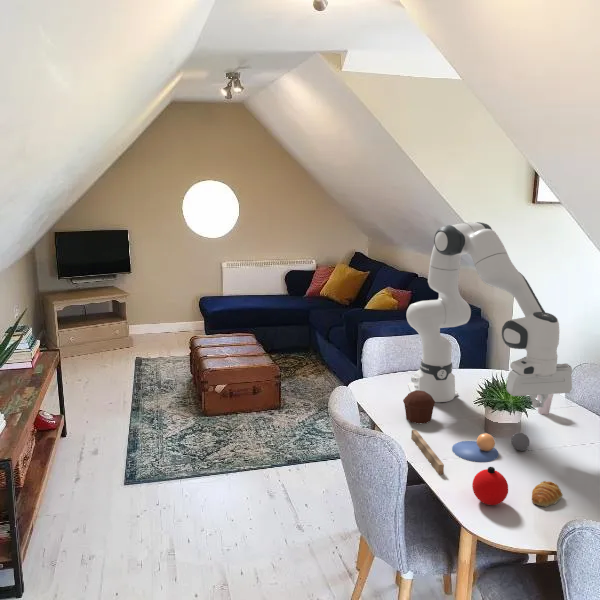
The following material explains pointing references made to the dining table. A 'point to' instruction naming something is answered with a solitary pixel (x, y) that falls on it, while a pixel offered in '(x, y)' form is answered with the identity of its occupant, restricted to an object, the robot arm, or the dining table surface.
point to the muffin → (419, 407)
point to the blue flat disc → (474, 452)
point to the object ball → (485, 442)
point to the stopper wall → (427, 452)
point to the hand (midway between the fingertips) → (537, 406)
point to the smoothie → (545, 405)
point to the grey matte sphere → (520, 441)
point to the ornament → (490, 486)
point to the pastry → (546, 494)
